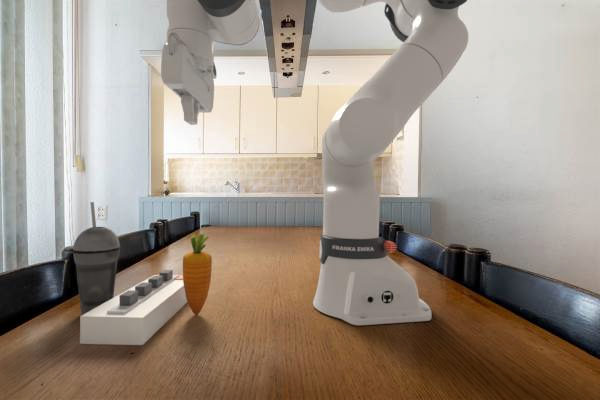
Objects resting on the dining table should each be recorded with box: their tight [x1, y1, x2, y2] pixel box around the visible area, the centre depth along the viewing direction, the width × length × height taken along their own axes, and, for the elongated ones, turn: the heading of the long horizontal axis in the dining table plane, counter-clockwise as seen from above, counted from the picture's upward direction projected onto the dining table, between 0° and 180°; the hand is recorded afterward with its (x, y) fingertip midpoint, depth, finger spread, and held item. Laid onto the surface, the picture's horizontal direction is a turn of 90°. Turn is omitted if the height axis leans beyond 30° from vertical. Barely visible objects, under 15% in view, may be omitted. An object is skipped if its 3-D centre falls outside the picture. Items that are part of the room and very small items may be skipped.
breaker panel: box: [79, 269, 188, 346], centre depth 54 cm, size 9×22×6 cm, turn 0°
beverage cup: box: [71, 201, 122, 316], centre depth 54 cm, size 7×7×20 cm
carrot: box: [182, 232, 213, 316], centre depth 54 cm, size 5×5×15 cm
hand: (190, 123), depth 61 cm, fingers closed
